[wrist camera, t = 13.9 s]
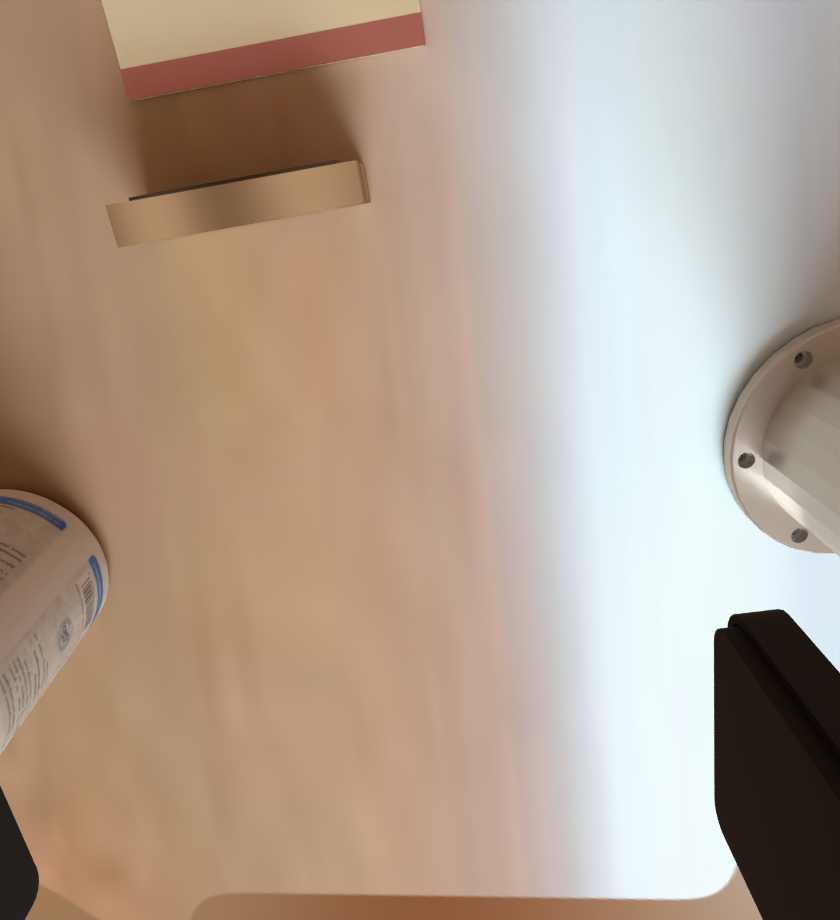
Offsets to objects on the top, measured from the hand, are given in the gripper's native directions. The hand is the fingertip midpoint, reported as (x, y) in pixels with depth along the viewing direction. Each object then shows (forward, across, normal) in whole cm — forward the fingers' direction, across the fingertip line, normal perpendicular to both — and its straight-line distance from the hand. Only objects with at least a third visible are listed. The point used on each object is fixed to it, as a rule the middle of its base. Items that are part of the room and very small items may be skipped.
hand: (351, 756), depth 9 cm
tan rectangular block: (+28, +6, -7) cm, 29 cm away
